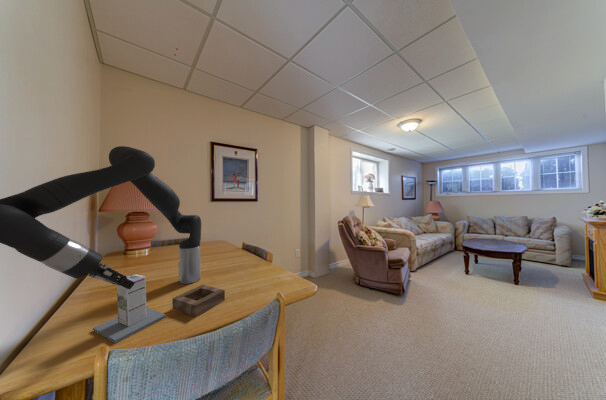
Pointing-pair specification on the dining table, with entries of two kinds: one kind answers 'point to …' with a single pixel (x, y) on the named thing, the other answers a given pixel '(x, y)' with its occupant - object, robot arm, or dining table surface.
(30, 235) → the robot arm
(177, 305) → the socket block
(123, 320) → the syrup box
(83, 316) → the dining table surface
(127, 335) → the mat
